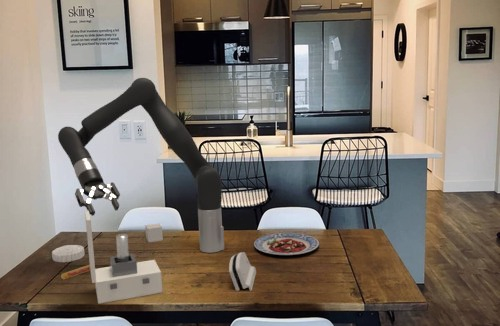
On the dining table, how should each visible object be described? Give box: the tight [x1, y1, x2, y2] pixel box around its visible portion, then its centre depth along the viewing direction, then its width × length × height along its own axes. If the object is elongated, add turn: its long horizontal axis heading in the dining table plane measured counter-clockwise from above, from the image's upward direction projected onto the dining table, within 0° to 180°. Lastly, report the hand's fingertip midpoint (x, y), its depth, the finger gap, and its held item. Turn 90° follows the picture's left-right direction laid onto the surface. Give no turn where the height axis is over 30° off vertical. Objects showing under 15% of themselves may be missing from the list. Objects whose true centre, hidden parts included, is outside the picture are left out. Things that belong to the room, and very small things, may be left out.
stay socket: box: [109, 253, 137, 277], centre depth 163 cm, size 8×8×4 cm
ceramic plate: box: [253, 232, 320, 256], centre depth 201 cm, size 26×26×3 cm
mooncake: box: [51, 244, 85, 263], centre depth 199 cm, size 12×12×4 cm
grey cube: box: [144, 223, 164, 243], centre depth 217 cm, size 6×6×6 cm
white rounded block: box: [228, 251, 257, 292], centre depth 170 cm, size 17×5×10 cm, turn 174°
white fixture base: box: [84, 210, 163, 304], centre depth 162 cm, size 21×13×27 cm, turn 110°
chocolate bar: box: [60, 264, 90, 280], centre depth 181 cm, size 3×12×2 cm, turn 139°
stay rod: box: [115, 233, 129, 263], centre depth 163 cm, size 4×4×12 cm
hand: (105, 211), depth 170 cm, fingers open, 8 cm apart
